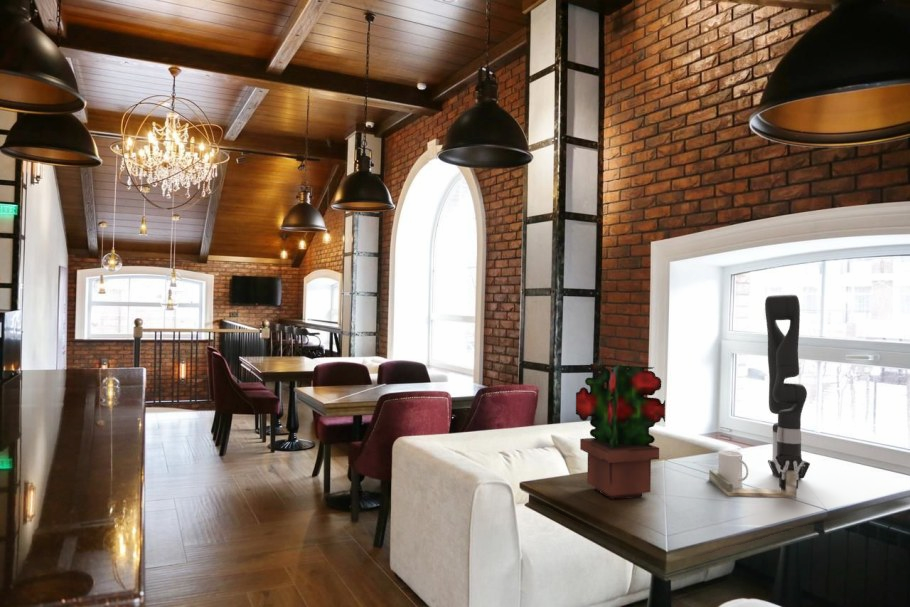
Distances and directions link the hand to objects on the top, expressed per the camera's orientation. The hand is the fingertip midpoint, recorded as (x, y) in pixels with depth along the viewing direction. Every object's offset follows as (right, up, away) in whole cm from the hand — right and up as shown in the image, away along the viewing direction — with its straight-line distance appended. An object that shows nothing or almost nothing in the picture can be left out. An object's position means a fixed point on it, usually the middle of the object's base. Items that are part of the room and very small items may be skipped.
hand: (788, 489), depth 216 cm
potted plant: (-59, -2, +2) cm, 59 cm away
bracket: (-10, -2, +8) cm, 12 cm away
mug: (-14, -2, +11) cm, 18 cm away
